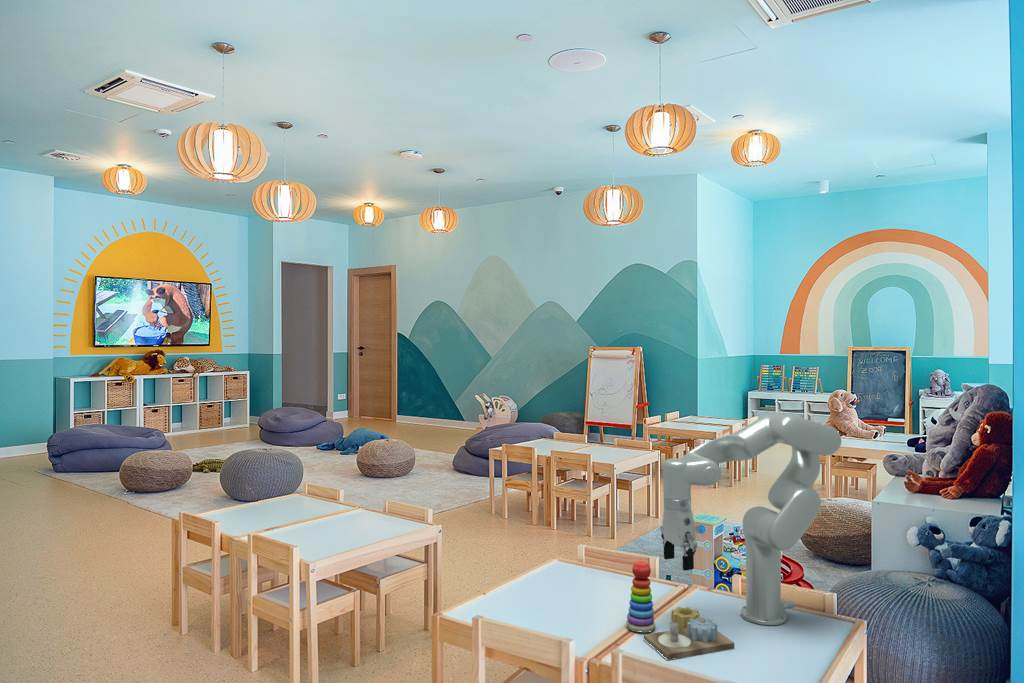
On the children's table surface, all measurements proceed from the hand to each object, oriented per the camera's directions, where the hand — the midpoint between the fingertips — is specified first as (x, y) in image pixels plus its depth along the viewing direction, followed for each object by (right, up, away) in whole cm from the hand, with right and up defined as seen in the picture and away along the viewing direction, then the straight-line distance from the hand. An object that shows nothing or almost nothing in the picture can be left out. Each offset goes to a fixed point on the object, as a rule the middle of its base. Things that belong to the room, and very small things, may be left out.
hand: (678, 564), depth 196 cm
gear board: (0, -18, -11) cm, 21 cm away
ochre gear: (+2, -18, +1) cm, 18 cm away
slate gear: (+4, -16, -10) cm, 19 cm away
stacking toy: (-11, -18, -1) cm, 21 cm away
